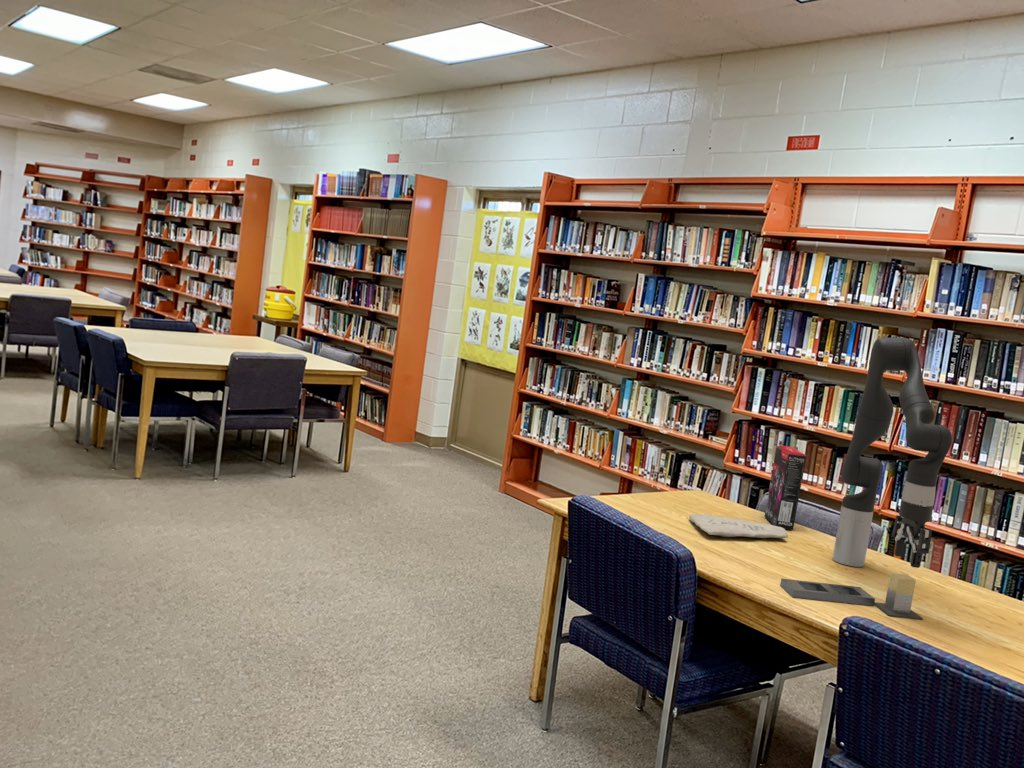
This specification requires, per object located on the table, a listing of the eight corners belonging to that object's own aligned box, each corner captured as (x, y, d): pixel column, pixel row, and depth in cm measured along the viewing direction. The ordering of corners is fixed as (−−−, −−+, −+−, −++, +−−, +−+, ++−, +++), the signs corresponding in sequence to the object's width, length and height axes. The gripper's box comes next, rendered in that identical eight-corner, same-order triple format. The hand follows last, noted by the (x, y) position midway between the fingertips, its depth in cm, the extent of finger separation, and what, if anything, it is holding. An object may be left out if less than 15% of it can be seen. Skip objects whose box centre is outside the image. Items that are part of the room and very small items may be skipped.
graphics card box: (763, 516, 317) (774, 444, 314) (781, 519, 316) (793, 446, 314) (775, 529, 300) (787, 452, 297) (795, 531, 299) (807, 454, 297)
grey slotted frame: (780, 585, 234) (781, 578, 233) (858, 594, 235) (860, 587, 235) (792, 597, 225) (793, 589, 224) (873, 606, 226) (875, 598, 226)
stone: (704, 540, 273) (797, 550, 274) (706, 525, 272) (799, 535, 274) (685, 521, 298) (770, 530, 299) (687, 507, 297) (772, 517, 299)
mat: (872, 603, 228) (872, 602, 228) (905, 607, 228) (905, 605, 228) (888, 616, 219) (888, 614, 219) (922, 619, 219) (922, 618, 219)
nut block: (884, 605, 226) (890, 572, 225) (901, 607, 226) (907, 574, 225) (892, 612, 221) (898, 578, 220) (909, 614, 222) (915, 580, 221)
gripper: (890, 492, 227) (879, 551, 229) (917, 506, 213) (906, 569, 215) (917, 495, 228) (906, 554, 230) (946, 509, 214) (935, 572, 216)
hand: (906, 561), depth 222 cm, fingers open, 8 cm apart
